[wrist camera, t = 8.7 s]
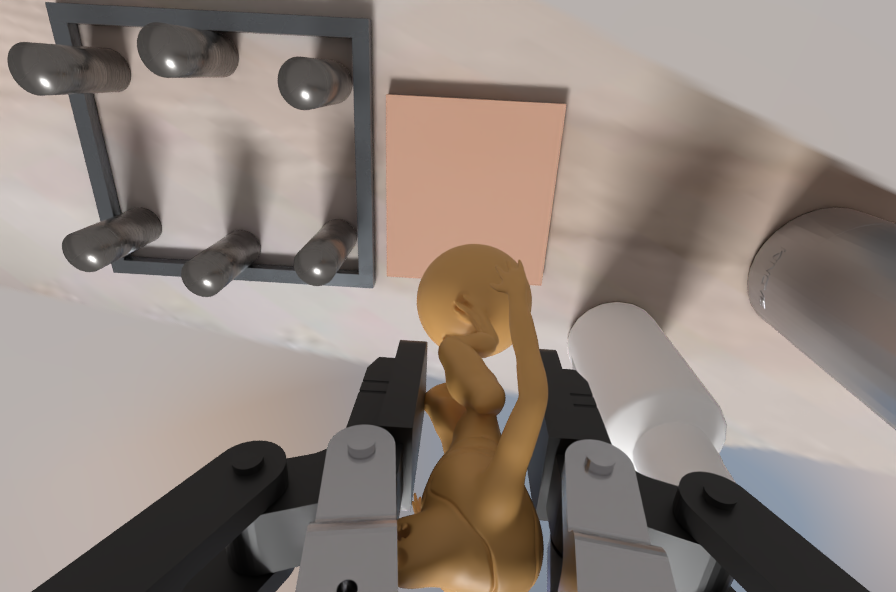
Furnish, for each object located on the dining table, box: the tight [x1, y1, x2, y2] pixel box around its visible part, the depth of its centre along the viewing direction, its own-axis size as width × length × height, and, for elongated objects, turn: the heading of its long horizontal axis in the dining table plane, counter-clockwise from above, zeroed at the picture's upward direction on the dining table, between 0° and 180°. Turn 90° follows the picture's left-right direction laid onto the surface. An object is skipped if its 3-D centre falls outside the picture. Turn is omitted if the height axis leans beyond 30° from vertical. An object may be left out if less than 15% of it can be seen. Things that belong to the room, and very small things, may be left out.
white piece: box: [567, 302, 736, 486], centre depth 29 cm, size 7×7×18 cm
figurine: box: [397, 244, 548, 592], centre depth 13 cm, size 8×6×12 cm
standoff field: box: [8, 2, 375, 297], centre depth 30 cm, size 19×17×6 cm
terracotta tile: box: [386, 94, 566, 286], centre depth 33 cm, size 11×12×1 cm
